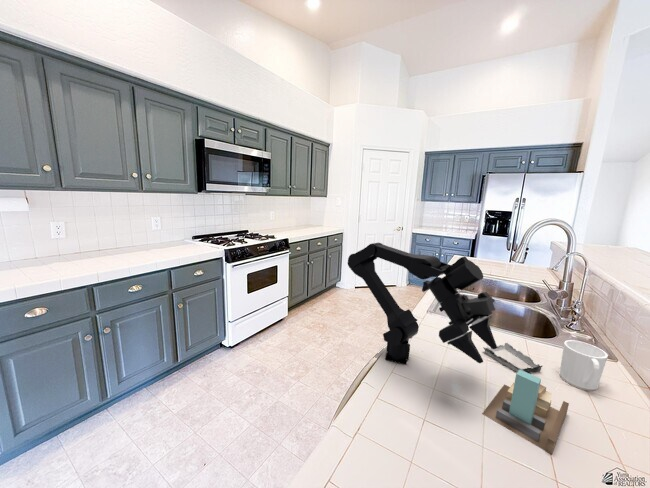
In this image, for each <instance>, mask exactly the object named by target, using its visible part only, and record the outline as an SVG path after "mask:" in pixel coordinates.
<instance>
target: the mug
mask: <svg viewBox="0 0 650 488" xmlns="http://www.w3.org/2000/svg"><path fill="white" fill-rule="evenodd" d="M608 356H609V355H608V353H606V351H604V350H603V349H601V348H600V347H598V346H595V345H593V344H590V343H587V342H584V341H580V340H576V339H575V340H574V339H569V340H568V339H567V340H565V341H564V342H563V349H562V355H561V362H560V367H559V376H560V378H561V380H562V381H564V382H565V383H567V384H568V385H570V386H572V387H575V388H577V389H580V390H583V391H588V392H593V391H596V390H598V387H599V383H600V381H601V378H602V374H603V372H604V368H605V366H606V363H607V360H608V358H609V357H608Z"/></svg>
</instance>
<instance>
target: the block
mask: <svg viewBox="0 0 650 488" xmlns="http://www.w3.org/2000/svg"><path fill="white" fill-rule="evenodd" d="M520 369H521V368H520ZM520 369H519V371H518V372H516V373H515V374H516V375H515V379H514V382H513V383H514V388H513V394H512V399H511V404H510V410H509V414H511V415H513V416H515V417H516V418H518V419H520V420H522V421H524V422H526V423H527V424H529V425H531V426H532V421H533V416H534V411H535V407H536V402H537V397H538V392H539V387H540V384H541V382H542V378H540V377H538V376H536V375H534V374H532V373H527V372H524V371H522V370H520Z"/></svg>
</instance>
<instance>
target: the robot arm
mask: <svg viewBox="0 0 650 488" xmlns="http://www.w3.org/2000/svg"><path fill="white" fill-rule="evenodd" d="M377 259H381V260H383V261H386V262H389V263H391V264H395V265H398V266H400V267H402V268H404V269H406V270H407V271H408V273H410V275H412V276H414V277H416V278H418V279H420V280H425V281H423V286H422V288H421V291H422V292H423V293H424V292H427V291H430V292H431V293H432V295H433V296H434V298H435V299H436V301H437V302H438V304H439V305H440V307H439V308H438V310H439V311H440V312H441V313H442V312H443V311H444V313H445V314H446V316H447V318H448V319H449V320H450V321H449V322H448V325H447V326H445V327H442V328H441V329H440V330H439V331H438V337H439V339H440V340H441V342H442V343H443V344H445V343H446V344H447V345H451V346H453V347H454V348H456V349H457V350H458V351H460V352H462V353H463V354H465V355H466V356H467V357H469V358H470V359H472V360H474V361H475V362H476V363H477V364H482V363H484V360H483V358H482V354H480V352H479V350H478V348H477V347H476V344H475V343H474V341H473V339H472V335H473V333H474V334H475V335H477V336H478V337H479V339H481V340H482V341H483V342H484V344H486V345H488V346H489V347H490V349H491V348H492V349H497V343H496V341H495V337H494V335H493V333H492V328H491V327H490V326H491V325H490V324H491V320H492V318H493V315H492V314H493V311H496V308H495V304H494V303H495V299H494V298H493V297H492V296H491V295H490V294H489V293H488V292H487V291H484V292H479V293H478V294H477V297H474V298H470V299H469V298H468V295H465V294H463V295H461V294H460V292H459V291H458V290H460V291H464V290H466V289H468V288H469V287H471V286H473V285H475V284H476V283H478V282H479V281H481V280H483V279H484V274H483V271H482V270H481V268H480V266H479V265H476V264H475V263H474V262H473V261H471V260H469V259H468V258H467V256H461V257H460V258H458V259H457V260H456V261H455V262H453V263H452V264H449V263H446V262H444V261H441V259H439V257H436V256H434V255H428V254H416V253H415V254H414V253H411V252H407V251H404V250H401V249H398V248H395V247H392V246H389V245H385V244H384V243H381V242H373V243H369V244H368V245H367V246H366V247H364V248H362V249H360V250H359V251H357V252H355V253H351V254H349V256H348V258H347V266H348V268H349V269H350V270H351V271H352V272H353V274H354V275H355V276H357V277H359V278H361V279H362V280H363V281H364V283H365V284H366V287H367V288H368V289H369V291H370V292H371V294H372V295H373V297H374V299H375V300H376V301H377V303H378V304H379V306H380V308H381V309H382V311H383V312H384V314H385V315H386V321H387V327H388V329H389V330H388V331H385V332H384V333H383V334H382V335H383V336H382V337H383V341H384V342H387V343H386V354H385V357H384V359H385V360H386V361H389V362H393V363H396V364H399V365H400V364H401V365H407V363H408V361H409V360H410V349H411V344H410V343H409V340H410V339H412V338H413V337H414V336H416V335H417V334H418V332H419V327H420V326H419V323H418V322H417V321H418V319H417V318H415V316H414V315H413V313H412V311H411V310H410V309H406V310H404V309H402V308H401V307H400V305H399V304H398V302H397V301H396V300H395V298H394V296H393V295H392V294H391V292H390V291H389V289H388V287H386V285H385V283H384V282H383V281H382V279H381V277H380V276H379V275H378V273H377V272H376V265H375V260H377ZM443 275H445V276H443ZM440 276H443V277H440ZM431 278H433V279H432V280H428V279H431ZM457 289H458V290H457Z"/></svg>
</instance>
